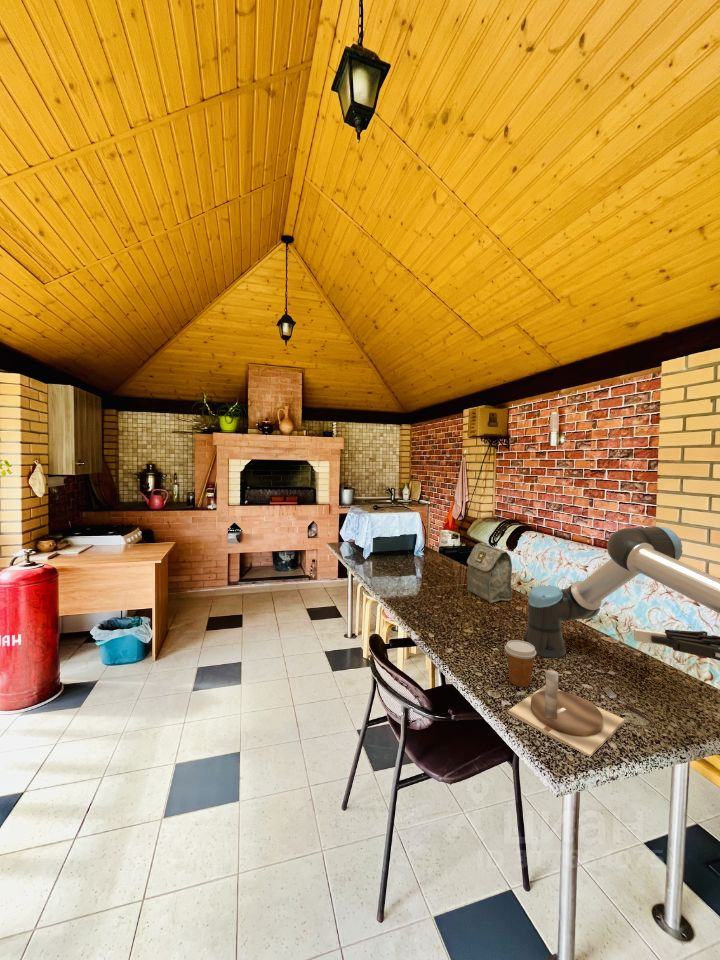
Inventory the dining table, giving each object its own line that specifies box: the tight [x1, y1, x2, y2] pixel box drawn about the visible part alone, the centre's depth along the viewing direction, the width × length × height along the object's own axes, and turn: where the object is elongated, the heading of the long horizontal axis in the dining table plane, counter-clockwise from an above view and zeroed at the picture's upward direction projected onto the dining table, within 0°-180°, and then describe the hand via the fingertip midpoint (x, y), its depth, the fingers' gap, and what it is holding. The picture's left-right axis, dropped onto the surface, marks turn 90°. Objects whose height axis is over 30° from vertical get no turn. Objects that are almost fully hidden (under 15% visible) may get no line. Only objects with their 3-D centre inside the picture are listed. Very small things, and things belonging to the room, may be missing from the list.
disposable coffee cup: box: [504, 639, 537, 688], centre depth 131 cm, size 10×10×12 cm
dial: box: [531, 669, 603, 735], centre depth 113 cm, size 18×18×14 cm
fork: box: [602, 687, 654, 724], centre depth 118 cm, size 3×16×2 cm, turn 15°
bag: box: [466, 541, 513, 604], centre depth 214 cm, size 22×16×27 cm
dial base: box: [507, 684, 626, 758], centre depth 113 cm, size 22×22×1 cm
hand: (634, 634), depth 103 cm, fingers closed
